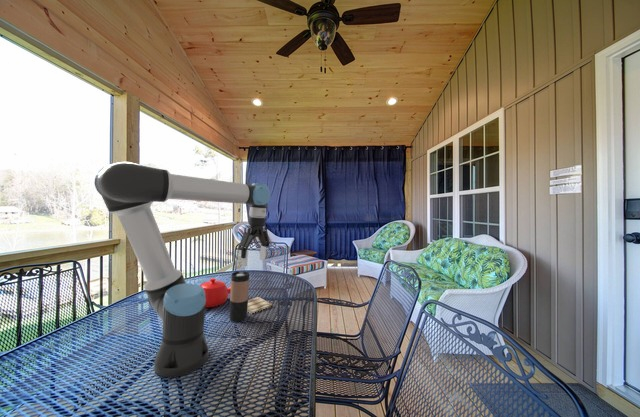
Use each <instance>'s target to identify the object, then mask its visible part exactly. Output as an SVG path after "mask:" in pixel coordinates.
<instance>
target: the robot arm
mask: <svg viewBox="0 0 640 417" xmlns="http://www.w3.org/2000/svg"><path fill="white" fill-rule="evenodd" d="M94 187H95V190H96V191H97V193H99V195H100V196H101V198H102V200H103V202H104V203H105V206H106V209H107V211H108V212H109V213H110V214H113V215H114V216H117V217H118V219H119V222H120V224H121V226H122V228H123V231H124V233H125V235H126V237H127V239H128V242H129V243H130V246H131V248H132V250H133V253H134V255H135V257H136V259H137V262H138V264H139V266H140V268H141V270H142V273H143V275H144V277H145V279H146V282H145V284H144V286H143V288H144V290H145V293H146V295H147V302H148V304H149V306H150V307H151V309H153V310H154V311H155V312H156V313H157V315H158V316H159V318H160V319H161V321H162V334H161V335H162V336H161V339H162V340H161V343H160V345H159V347H158V350H157V353H156V355H155V358H154V363H153V364H154V366H153V370H154V372H155V374H156V375H158V376H160V377H164V378H177V377H182V376H185V374H186V375H188V374H190V373H193V372H195V371H196V370H198V369H199V368H201V367H202V366H203V365H204V364H205V363H206V362H207V360H208V358H209V345H208V342H207V340H206V336H205V333H204V332H205V331H204V330H205V312H206V307H205V302H206V298H205V291H204V289H203V288H202V287H201V286H200V285H199V284H197V283H196V284H193V283H187V282H186V280H185V277H184V274H183V273H182V271H181V270H180V269H176V268H175V266H174V263H173V260H172V258H171V256H170V253H169V251H168V248H167V246H166V243H165V240H164V238H163V236H162V233H161V231H160V228H159V226H158V223H157V222H156V221H157V220H156V219H155V216H154V213H153V211H152V209H151V206H152V205H153V203H156V202H158V203H160V202H161V203H165V202H167V201H168V200H179V201H180V200H181V201H196V202H198V201H199V202H211V203H228V204H244V205H245V204H246V205H249V212H248V216H249V217H248V225H249V227H245V228H244V232H243V233H242V237H241V240H240V241H239V245H238V247H237V249H238V250H239V251H241V252H240V266H243V267H246V266H248V258H249V250H248V249H249V248H250V245H251V244H252V242H253V240H254V239H255V238H258V240H259V242H260V243H261V246H260V254H259V259H260V260H261V261H266V256H267V255H266V254H267V247H270V246H269V245H270V244H271V243H270V238H269V234H268V227H267V226H266V218H265V217H266V216H267V208H268V207H267V206H268V205H267V204H268V203H269V202H270V200H271V191H270V189H269V187H268V185H267V184H265V183H258V182H257V183H256V182H253V183H251V184H248V183H247V184H246V183H239V182H232V181H224V180H217V179H211V178H203V177H197V176H189V175H181V174H174V173H170V171H168V170H167V169H162V168H157V167H151V166H146V165H143V164H139V163H134V162H130V161H121V162H115V163H112V164H107V165H106V166H103V167H102V168H101V169H100V170H99V171H98V172H97V173H96V174H95V177H94Z"/></svg>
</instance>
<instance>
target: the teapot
mask: <svg viewBox="0 0 640 417" xmlns="http://www.w3.org/2000/svg"><path fill="white" fill-rule="evenodd" d="M199 286H201V287H202V288H203V289H204V291H205V298H206V302H205V309H206V308H207V309H208V308H216V307H218V305H219V306H220V305H223V304H224V303H225V302H227V300H228V298H229V297H230V293H231V285H229V287H227V285H226V283H225V282H224V281H222V280H217V279H216V278H214V277H212V278H210V279H209V281H204V282H203V283H201V284H200V285H199ZM215 306H216V307H215Z"/></svg>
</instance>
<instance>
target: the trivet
mask: <svg viewBox="0 0 640 417" xmlns="http://www.w3.org/2000/svg"><path fill="white" fill-rule="evenodd" d="M270 306H272V307H273V304H272V303H271V302H269V301H267V300H265V299H263V298H261V297H260V296H257V297H253V298H250V299H248V306H247V313H248V312H249V313H248V314H250V313H251V314H250V315H253V314H252V313H254V314H256V313H259V312H261V310H262V311H264V310H263V309H265V308H267V309H269V308H268V307H270ZM270 308H271V307H270ZM265 310H266V309H265ZM258 311H259V312H258ZM255 312H256V313H255Z"/></svg>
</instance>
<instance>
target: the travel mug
mask: <svg viewBox="0 0 640 417" xmlns="http://www.w3.org/2000/svg"><path fill="white" fill-rule="evenodd" d="M230 281H231V282H230V286H231V293H230V294H229V320H230V321H231V322H233V321H234V322H233V323H238V322H239V323H241V322H243V321H245V320H246V319H247V316H248V312H247V306H248V300H249V288H250V272H248V271H243V272H241V271H235V272H232V273H231V279H230ZM245 318H246V319H245ZM244 319H245V320H244ZM242 320H243V321H242Z"/></svg>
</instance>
